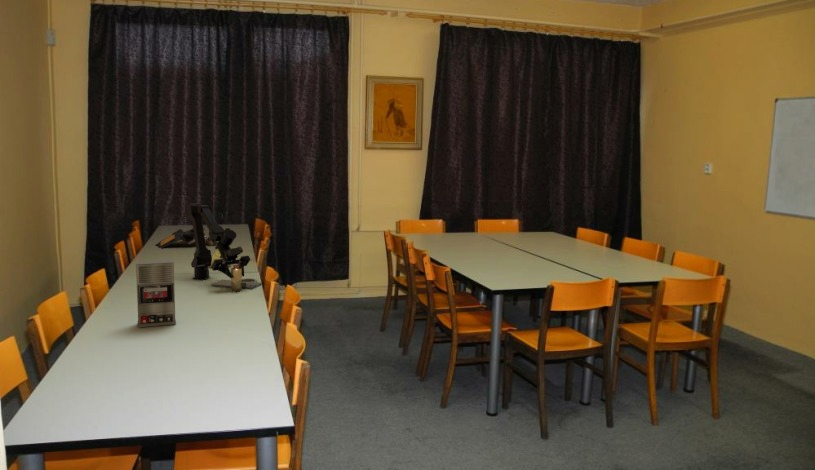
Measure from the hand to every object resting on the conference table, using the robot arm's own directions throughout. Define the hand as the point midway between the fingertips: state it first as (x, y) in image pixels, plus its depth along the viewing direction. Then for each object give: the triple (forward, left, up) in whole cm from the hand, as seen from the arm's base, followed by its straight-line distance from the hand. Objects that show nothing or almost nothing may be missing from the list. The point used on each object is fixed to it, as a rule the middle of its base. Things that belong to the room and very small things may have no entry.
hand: (237, 277), depth 304 cm
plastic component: (-38, +53, -8) cm, 66 cm away
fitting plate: (-6, +11, -7) cm, 14 cm away
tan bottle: (-1, +1, -7) cm, 7 cm away
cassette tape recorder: (-5, -58, -7) cm, 59 cm away
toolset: (-92, +107, -8) cm, 141 cm away
